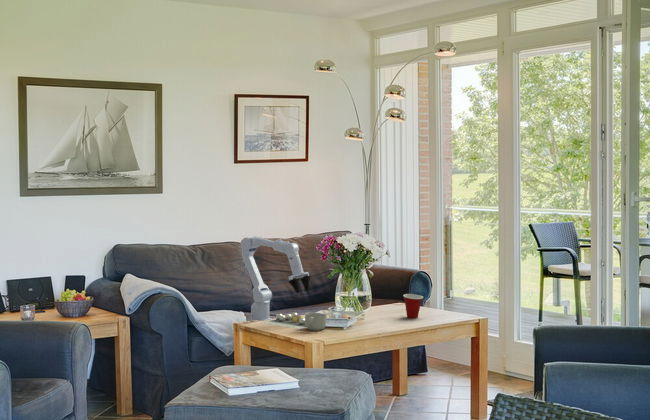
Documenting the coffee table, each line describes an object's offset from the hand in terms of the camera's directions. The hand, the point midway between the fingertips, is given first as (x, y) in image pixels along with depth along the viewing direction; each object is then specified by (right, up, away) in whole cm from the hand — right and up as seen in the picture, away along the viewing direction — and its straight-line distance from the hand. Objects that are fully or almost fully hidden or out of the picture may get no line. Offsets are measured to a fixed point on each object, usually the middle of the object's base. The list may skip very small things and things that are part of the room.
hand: (303, 291), depth 435 cm
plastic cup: (+59, -17, +26) cm, 66 cm away
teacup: (+6, -18, -14) cm, 23 cm away
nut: (-3, -16, +6) cm, 17 cm away
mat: (-6, -17, +2) cm, 18 cm away
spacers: (-3, -17, +6) cm, 18 cm away
